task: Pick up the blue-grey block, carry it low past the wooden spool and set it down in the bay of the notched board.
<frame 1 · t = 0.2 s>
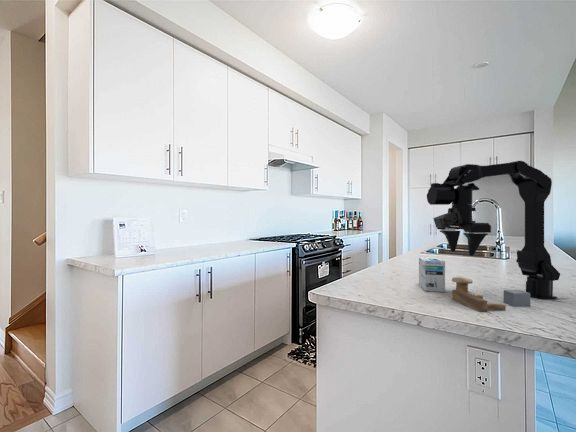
hand: (461, 253, 97), 14 cm above the worktop, tool pointing down, fingers open, 9 cm apart
light bulb box: (431, 288, 110), on the worktop
blue-grey block: (516, 304, 91), on the worktop
spool: (461, 294, 102), on the worktop
notched board: (468, 305, 90), on the worktop
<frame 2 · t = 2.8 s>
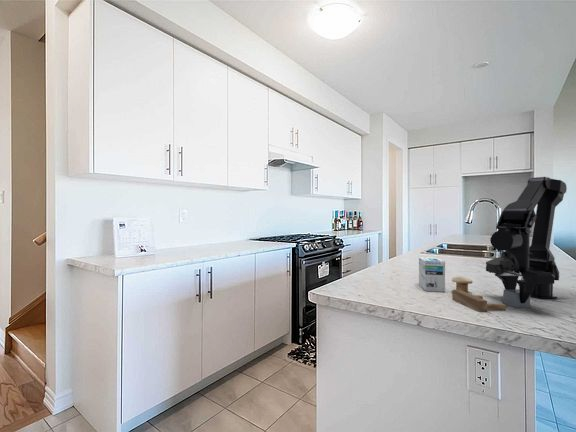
hand: (516, 301, 91), 1 cm above the worktop, tool pointing down, fingers closed on blue-grey block, 4 cm apart
blue-grey block: (516, 304, 91), on the worktop, touching gripper
everything else where it was.
when the fingers open (3 cm above the worktop, at t = 6.5 s): blue-grey block drops 2 cm, on the worktop.
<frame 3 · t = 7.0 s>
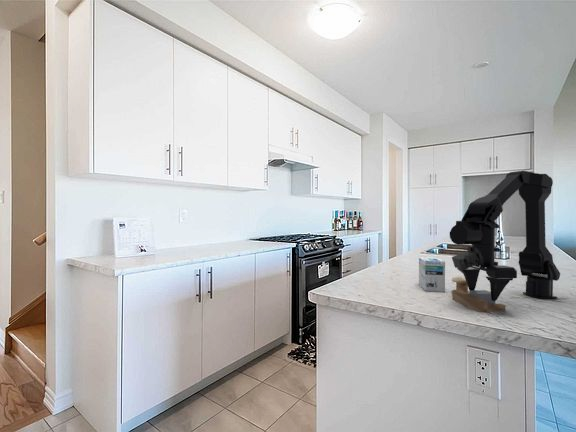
hand: (482, 296, 90), 3 cm above the worktop, tool pointing down, fingers open, 9 cm apart
blue-grey block: (481, 305, 90), on the worktop
everything else where it was.
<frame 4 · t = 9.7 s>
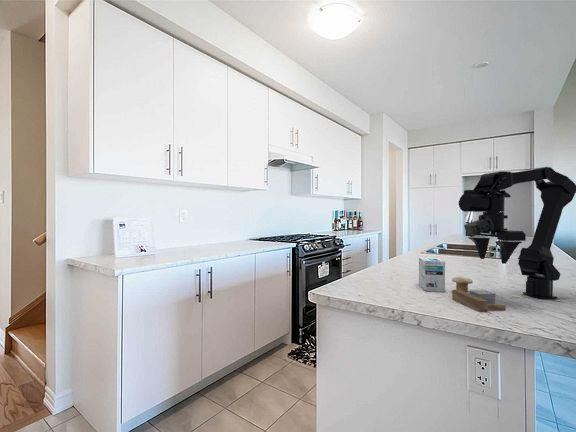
hand: (492, 261, 97), 12 cm above the worktop, tool pointing down, fingers open, 9 cm apart
nothing on the worktop moved.
at the end: blue-grey block 0.2 cm from the target spot, on the worktop; blue-grey block tilted 0°; the gripper is holding nothing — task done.
